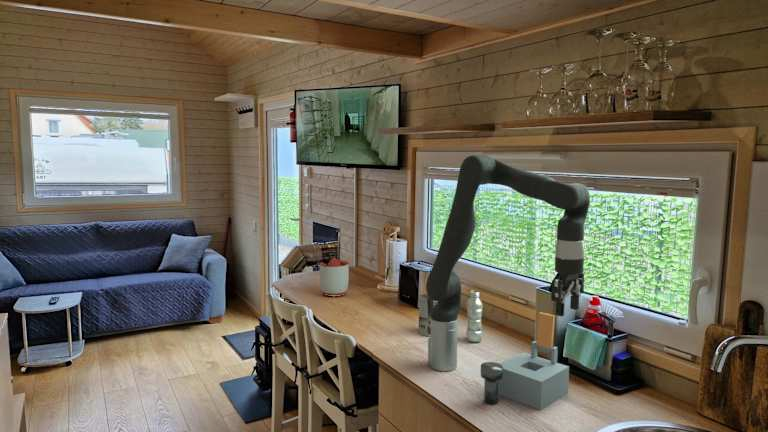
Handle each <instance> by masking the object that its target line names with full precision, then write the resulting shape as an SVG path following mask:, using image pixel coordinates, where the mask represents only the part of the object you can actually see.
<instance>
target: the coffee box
mask: <svg viewBox="0 0 768 432" xmlns="http://www.w3.org/2000/svg"><path fill="white" fill-rule="evenodd" d="M437 303H438V301H433V300H431V299H430V298H429V296H428V294H427V293H425V294H424V293H423V294H420V295H419V296H418V334H419V335H422V336H425V337H428V338H430V337H431V310H432V308H433V307H434V306H435V305H436V304H437Z"/></svg>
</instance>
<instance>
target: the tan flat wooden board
mask: <svg viewBox="0 0 768 432" xmlns="http://www.w3.org/2000/svg"><path fill="white" fill-rule="evenodd" d="M555 321H556V315H554V314H550V313H546V312H541V311H540V312H538V321H537V322H538V323H537V335H536V336H537V337H536V341H537V345H536V349H537V350H540V351H543V352H546V353H549V354H551V348H553V347H554V333H555Z"/></svg>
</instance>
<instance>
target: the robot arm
mask: <svg viewBox="0 0 768 432" xmlns="http://www.w3.org/2000/svg"><path fill="white" fill-rule="evenodd" d="M488 184H490V185H491V184H492V185H499V186H500V185H501V186H505V187H507V188H511V189H512V190H513V191H515V192H517V193H518V194H521V195H523V196H526V197H529V198H533V199H536V200H539V201H541V202H545V203H546V204H548V205H550V206H552V207H554V208H557V209H561V210H564V211H563V216H562V217H561V218H560V219H559V220H558V222H557V225H556V226H557V227H556V229H557V230H556V241H555V242H556V243H555V250H554V251H555V253H554V255H555V256H554V271H555V272H556V273H558V274H559V275H558V279H557V278H556V279H554V278H553V279H552V281H551V297H550V300H551V302H554V303H555V316H558V317H564V316H565V301H566V298H567V297H570V302H569V303H570V305H569V306H570V307H569V308H570V309H571V310H575V311H577V310H579V308H580V297H581V296H582V295H581V294H584V291H585V273H584V262H585V241H584V239H585V223H586V219H587V216H588V212H589V208H590V201H591V196H590V191H589V189H588V187H587V186H586V185H584V184H583V183H577V182H575V183H566V182H565V183H563V182H560V181H557V180H555V179H554V178H553V177H550V176H547V175H543V174H540V173H536V172H532V171H528V170H524V169H519V168H517V167H513V166H510V165H508V164H506V163H504V162H502V161H500V160H498V159H496V158H493V157H491V156H489V155H484V154H483V155H479V154H477V155H473V154H472V155H469V156H467V157H466V158H465V159H464V160H462V163H461V165H460V168H459V173H458V177H457V183H456V188H455V193H454V197H453V200H452V204H451V207H450V208H451V209H450V212H449V214H448V218H447V221H446V224H445V227H444V232H443V234H442V238H441V241H440V245H439V249H438V252H437V255H436V258H435V260H434V263H433V264H432V268H431V270H430V272H429V274H428V278H427V280H426V283H425V291H426V294H428V296H429V298H430V299H431V300H433V301H438V303H437V304H436V305H435V306H434V307H433V308H432V310H431V336H430V337H428V339H427V365H428V366H430V368H432V369H433V370H434V371H435V370H436V371H439V372H450V371H454V370H455V369H457V368H458V367H457V366H458V315H459V312H460V310H461V301H462V300H461V299H462V282H461V279H460V277H459V276H458V274H457V273H456V272H455V271H453V269H454V268H455V266H456V264H457V263H458V262H459V260H460V258H461V257H462V256H463V255H464V253H465V252H466V250H467V249H468V248H469V247H470V244H471V242H472V240H473V235H474V233H475V229H476V221H477V220H476V215H475V208H474V207H475V206H474V205H475V204H474V203H475V199H476V196H477V193H478V189H479V187H480V186H481V185H482V186H484V185H488Z"/></svg>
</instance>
